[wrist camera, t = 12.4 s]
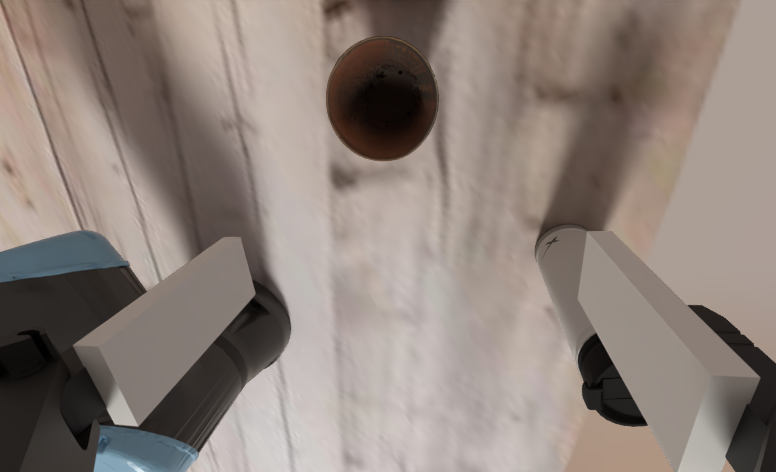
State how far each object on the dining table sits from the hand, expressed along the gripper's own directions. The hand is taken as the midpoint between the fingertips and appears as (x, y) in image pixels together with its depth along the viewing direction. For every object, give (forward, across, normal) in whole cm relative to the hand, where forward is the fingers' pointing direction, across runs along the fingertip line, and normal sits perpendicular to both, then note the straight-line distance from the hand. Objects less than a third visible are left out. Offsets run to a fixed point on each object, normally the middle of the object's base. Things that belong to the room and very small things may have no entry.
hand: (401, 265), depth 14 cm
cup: (+26, -3, +5) cm, 27 cm away
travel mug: (+26, +14, -12) cm, 32 cm away
